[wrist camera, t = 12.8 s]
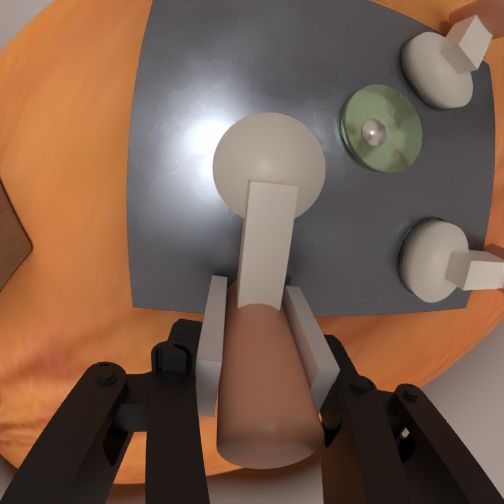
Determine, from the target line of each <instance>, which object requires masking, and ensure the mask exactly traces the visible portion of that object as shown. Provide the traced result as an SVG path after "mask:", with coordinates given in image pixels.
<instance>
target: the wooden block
mask: <svg viewBox="0 0 504 504" xmlns="http://www.w3.org/2000/svg"><path fill="white" fill-rule="evenodd" d="M30 251H31V243H30V242H29V240H28V238H27V236H26V234H25V233H24V231H23V229H22V227H21V225H20V223H19V221H18V219H17V217H16V215H15V213H14V211H13V209H12V207H11V205H10V203H9V201H8V199H7V196H6V194H5V192H4V190H3V187H2V185H1V183H0V290H1V289H2V287H3V286H4V285H5V283H6V282H7V281H8V279H9V278H10V277H11V275H12V274H13V273H14V271H15V270H16V269H17V267H18V266H19V265H20V264H21V262H22V261H23V260H24V259H25V258H26V256H27V255H28V254H29V252H30Z"/></svg>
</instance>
